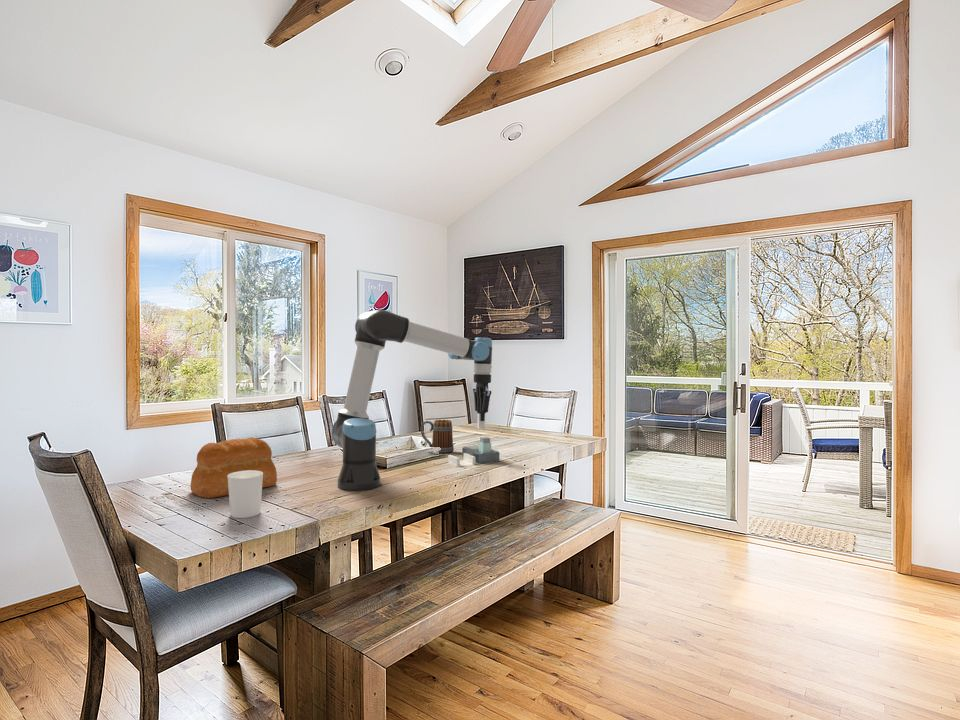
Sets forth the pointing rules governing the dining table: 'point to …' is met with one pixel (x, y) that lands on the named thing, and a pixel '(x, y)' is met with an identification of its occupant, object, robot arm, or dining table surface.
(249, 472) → the candle holder
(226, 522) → the dining table surface
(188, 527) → the dining table surface
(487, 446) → the plug
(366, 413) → the robot arm
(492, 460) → the port panel
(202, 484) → the bread
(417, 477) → the dining table surface
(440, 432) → the mug
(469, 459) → the holster
